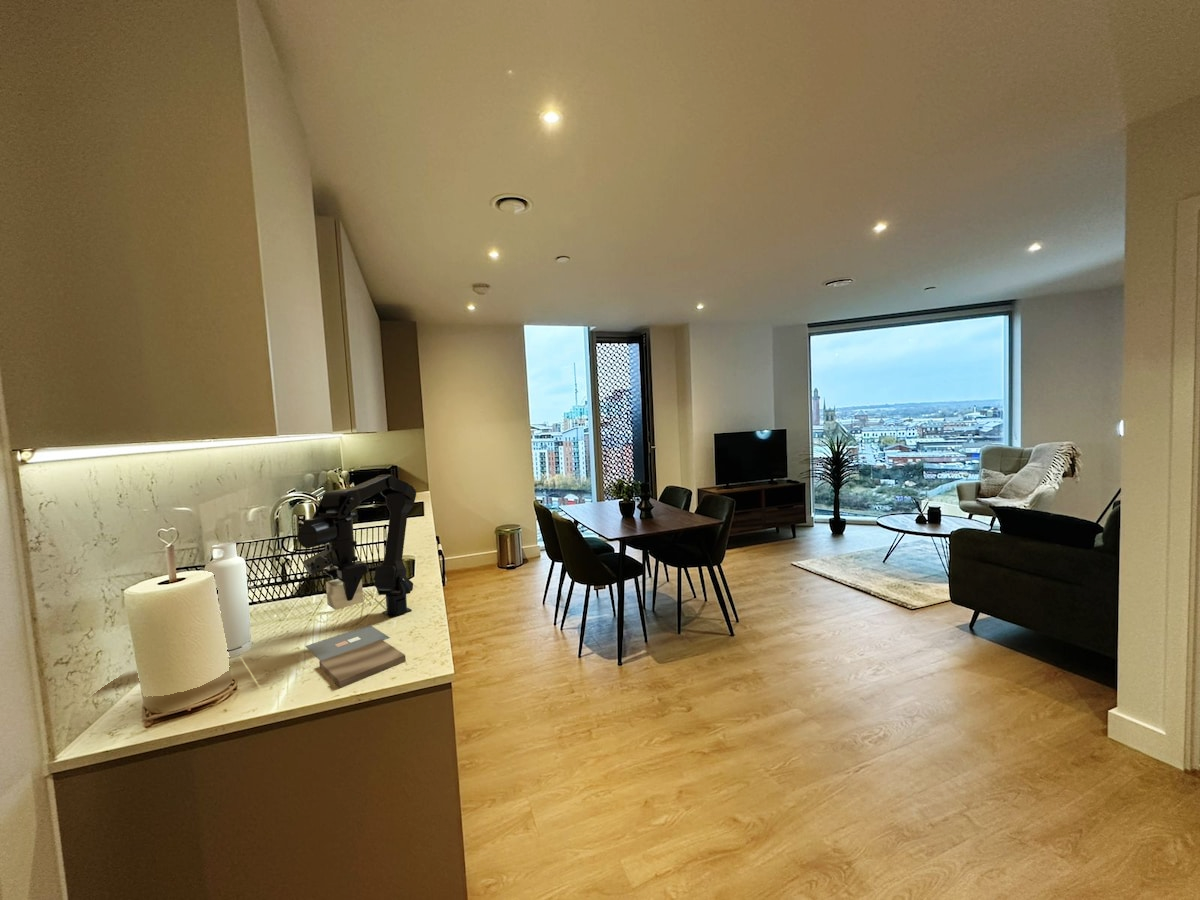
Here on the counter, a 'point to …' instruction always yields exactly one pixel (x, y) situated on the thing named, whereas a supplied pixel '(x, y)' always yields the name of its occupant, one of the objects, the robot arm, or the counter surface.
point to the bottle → (232, 596)
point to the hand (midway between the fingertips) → (345, 597)
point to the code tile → (345, 642)
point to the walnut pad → (361, 662)
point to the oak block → (341, 595)
